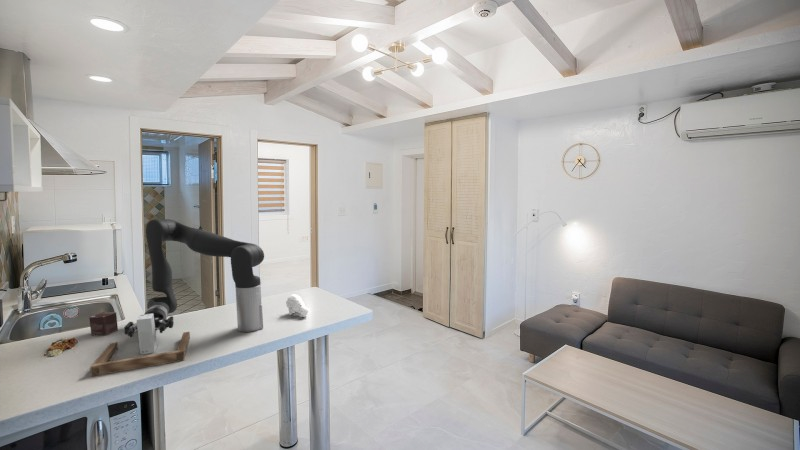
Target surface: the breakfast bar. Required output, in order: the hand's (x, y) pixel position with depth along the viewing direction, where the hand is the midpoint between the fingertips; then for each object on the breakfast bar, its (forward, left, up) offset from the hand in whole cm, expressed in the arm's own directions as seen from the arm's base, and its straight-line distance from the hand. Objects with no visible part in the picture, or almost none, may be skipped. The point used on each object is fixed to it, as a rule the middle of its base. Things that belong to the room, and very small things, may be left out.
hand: (145, 332), depth 127 cm
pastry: (+28, -16, -8) cm, 34 cm away
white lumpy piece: (-53, -16, -7) cm, 56 cm away
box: (+19, -28, -7) cm, 35 cm away
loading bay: (0, +3, -7) cm, 7 cm away
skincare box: (0, -2, -7) cm, 7 cm away
